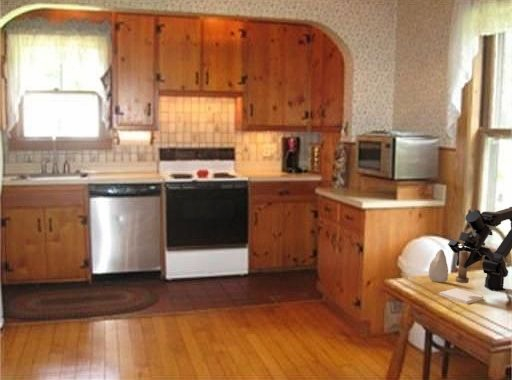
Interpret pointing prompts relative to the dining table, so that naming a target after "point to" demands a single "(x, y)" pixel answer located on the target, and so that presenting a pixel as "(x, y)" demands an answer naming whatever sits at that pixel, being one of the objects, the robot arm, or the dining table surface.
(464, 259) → the tamper
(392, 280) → the dining table surface
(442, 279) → the stone tool
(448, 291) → the tile
